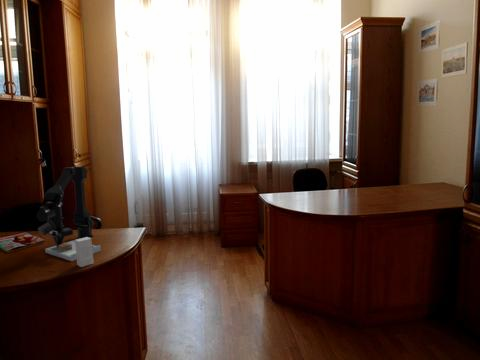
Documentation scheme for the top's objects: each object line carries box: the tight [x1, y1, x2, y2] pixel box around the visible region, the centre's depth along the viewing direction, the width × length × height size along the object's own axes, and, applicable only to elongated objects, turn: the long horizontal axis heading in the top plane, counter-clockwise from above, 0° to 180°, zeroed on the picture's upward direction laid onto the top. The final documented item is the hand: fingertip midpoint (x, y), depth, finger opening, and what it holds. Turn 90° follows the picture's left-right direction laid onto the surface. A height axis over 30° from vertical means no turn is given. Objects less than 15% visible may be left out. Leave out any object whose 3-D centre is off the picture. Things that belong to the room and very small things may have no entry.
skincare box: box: [74, 237, 94, 268], centre depth 180 cm, size 6×4×12 cm
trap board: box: [44, 239, 102, 262], centre depth 198 cm, size 16×22×3 cm
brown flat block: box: [58, 242, 72, 252], centre depth 196 cm, size 4×4×2 cm
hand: (58, 247), depth 197 cm, fingers closed
